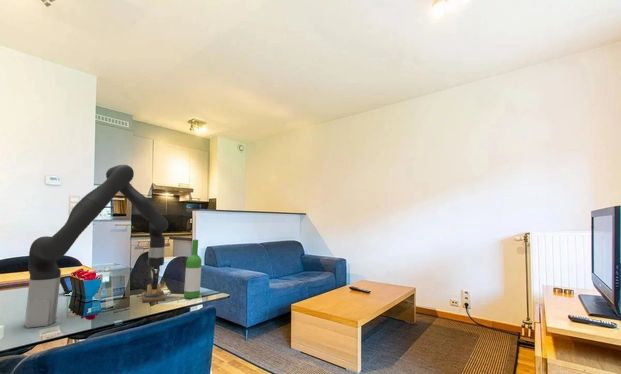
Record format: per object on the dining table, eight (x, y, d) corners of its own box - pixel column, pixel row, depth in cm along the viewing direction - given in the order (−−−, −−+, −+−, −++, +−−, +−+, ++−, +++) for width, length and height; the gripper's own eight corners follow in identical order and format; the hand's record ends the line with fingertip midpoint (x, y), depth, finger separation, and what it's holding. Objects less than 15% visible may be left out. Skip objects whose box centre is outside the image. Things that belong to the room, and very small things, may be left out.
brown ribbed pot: (160, 293, 158) (161, 285, 158) (147, 294, 155) (147, 286, 155) (159, 291, 163) (160, 283, 164) (146, 292, 160) (147, 284, 161)
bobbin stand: (165, 300, 154) (166, 284, 155) (142, 302, 150) (143, 286, 150) (162, 293, 168) (163, 278, 169) (142, 295, 164) (143, 279, 164)
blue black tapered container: (80, 297, 157) (82, 279, 158) (56, 296, 158) (58, 277, 159) (103, 290, 172) (105, 273, 173) (81, 289, 173) (83, 272, 174)
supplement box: (93, 297, 156) (95, 272, 157) (100, 300, 152) (103, 274, 154) (76, 301, 150) (79, 274, 151) (83, 303, 146) (86, 276, 147)
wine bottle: (180, 298, 160) (184, 239, 163) (189, 294, 168) (193, 238, 171) (193, 299, 158) (197, 240, 161) (202, 295, 166) (205, 239, 169)
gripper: (147, 254, 165) (145, 285, 164) (148, 258, 153) (146, 291, 152) (163, 254, 169) (161, 284, 168) (165, 257, 157) (162, 290, 155)
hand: (154, 287), depth 160 cm, fingers open, 8 cm apart
